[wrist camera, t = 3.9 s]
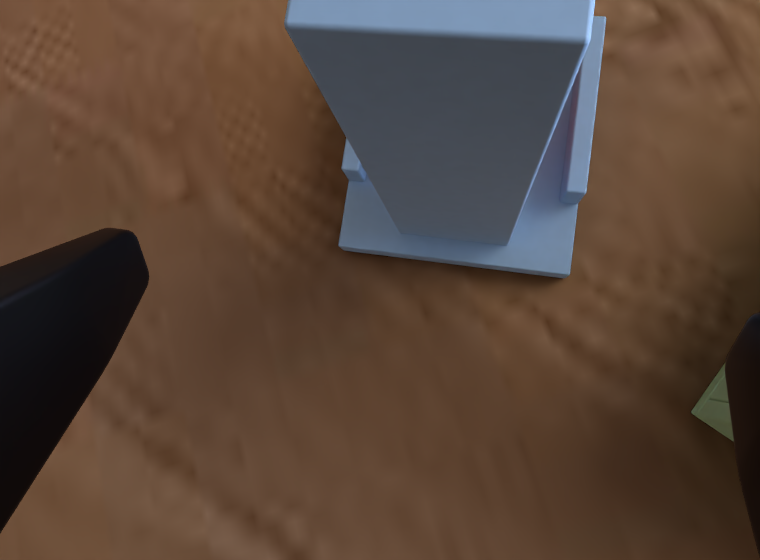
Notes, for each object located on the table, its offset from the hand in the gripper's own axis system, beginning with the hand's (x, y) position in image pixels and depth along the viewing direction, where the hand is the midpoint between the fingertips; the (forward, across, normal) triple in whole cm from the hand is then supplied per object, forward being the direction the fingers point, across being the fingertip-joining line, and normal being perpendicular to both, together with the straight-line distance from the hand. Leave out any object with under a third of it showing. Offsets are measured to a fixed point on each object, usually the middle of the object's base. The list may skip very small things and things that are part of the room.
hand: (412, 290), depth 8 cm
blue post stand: (+12, 0, +3) cm, 12 cm away
